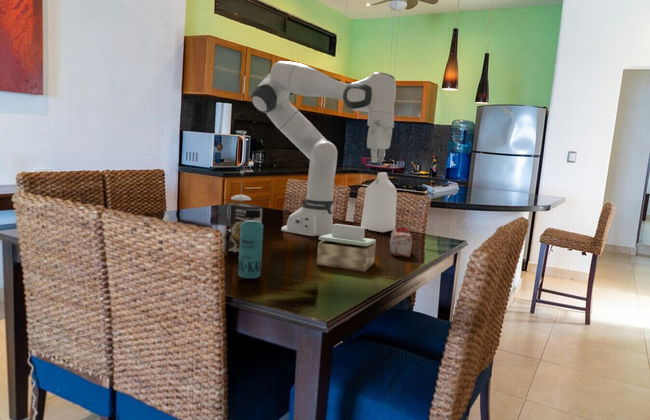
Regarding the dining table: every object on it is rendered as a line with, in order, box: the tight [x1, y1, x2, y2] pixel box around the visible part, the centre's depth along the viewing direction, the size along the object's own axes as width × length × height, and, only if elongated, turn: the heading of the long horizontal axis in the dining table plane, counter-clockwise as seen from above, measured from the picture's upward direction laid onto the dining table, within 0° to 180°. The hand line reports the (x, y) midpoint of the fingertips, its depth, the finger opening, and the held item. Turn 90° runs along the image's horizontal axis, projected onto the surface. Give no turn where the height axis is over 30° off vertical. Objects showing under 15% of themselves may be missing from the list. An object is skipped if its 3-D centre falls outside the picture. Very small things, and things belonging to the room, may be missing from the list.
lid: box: [318, 234, 377, 246], centre depth 165 cm, size 16×13×1 cm
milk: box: [360, 171, 398, 233], centre depth 232 cm, size 12×12×26 cm
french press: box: [226, 170, 252, 232], centre depth 203 cm, size 10×12×25 cm
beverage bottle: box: [237, 209, 264, 279], centre depth 139 cm, size 6×7×20 cm
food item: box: [389, 226, 413, 258], centre depth 186 cm, size 14×8×10 cm, turn 178°
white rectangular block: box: [332, 223, 366, 240], centre depth 164 cm, size 10×3×4 cm, turn 68°
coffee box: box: [228, 202, 264, 253], centre depth 171 cm, size 9×6×16 cm
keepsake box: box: [316, 240, 377, 273], centre depth 165 cm, size 16×12×7 cm
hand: (377, 162), depth 174 cm, fingers open, 8 cm apart
